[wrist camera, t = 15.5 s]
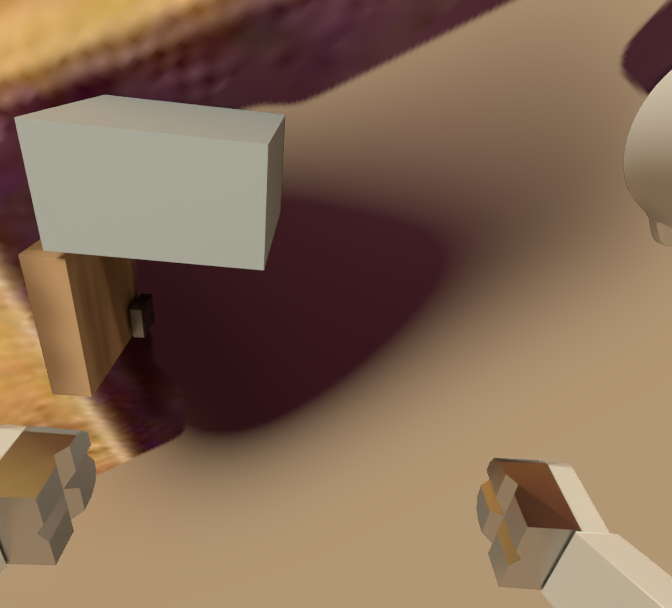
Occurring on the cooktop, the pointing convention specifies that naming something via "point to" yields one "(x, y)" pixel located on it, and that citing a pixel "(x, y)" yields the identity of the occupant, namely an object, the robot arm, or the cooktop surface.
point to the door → (79, 314)
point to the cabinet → (155, 180)
